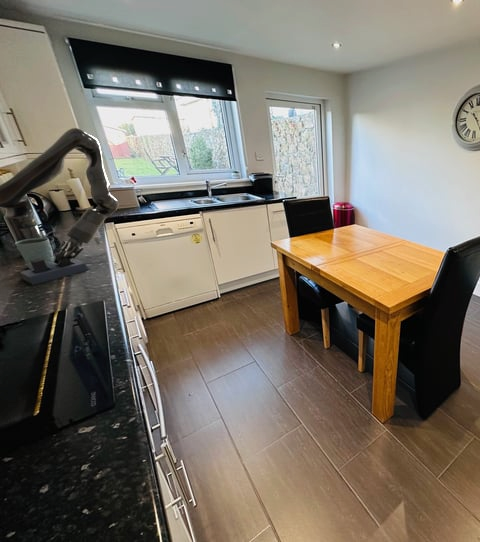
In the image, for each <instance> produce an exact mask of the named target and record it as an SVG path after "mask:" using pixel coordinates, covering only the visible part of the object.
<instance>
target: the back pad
mask: <svg viewBox="0 0 480 542" xmlns="http://www.w3.org/2000/svg"><path fill="white" fill-rule="evenodd" d="M64 255H65V253H60V254H58V253H56V254H54V258H55V259H57V261H58V263H59V262H60V260H61V259H62V258H63V257H64ZM70 260H71V259H70ZM70 260H69V261H68V263H67V264H66V265H65V266H68V265H72V263H71V261H70ZM59 266H60V267H64V266H61V265H59Z"/></svg>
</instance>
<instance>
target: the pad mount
mask: <svg viewBox="0 0 480 542" xmlns="http://www.w3.org/2000/svg"><path fill="white" fill-rule="evenodd" d="M70 261H71V263H72V265H68V266H64V267H60V266H59V264H56V263H55V264H51V265H47V268H48V271H44V272H40V273H36V272H35V270H34V269H30V268H29V269H27V270H21V271H19V274H20V276H21V277H22V278H21V279H23V280H24V281H25V282H27V283H28V284H31V285H32V286H34V285H39V284H42V283H47V282H49V281H54V280H57V279H61V278H64V277H68V276H71V275H76V274H78V273H79V274H80V273H83V272H86V271H88V270H89V268H88V266H87V263H86V262H84V261H82V260H78V259H76V258H74V259H73V258H72V259H70Z"/></svg>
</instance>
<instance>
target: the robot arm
mask: <svg viewBox="0 0 480 542" xmlns="http://www.w3.org/2000/svg"><path fill="white" fill-rule="evenodd" d="M73 150H76V151H79V152H80V153H83V154H84V155H85V157H86V158H87V161H88V165H87V167H86V169H85V176H86V179H87V182H88V184H89V187H90V196H91V199H92V201H93V202H94V204H96V205H97V206H96V207H95V208H87V209H86V211H85V212H83V214H82V215H81V217H80V218H79V219H78V220H77V221H76V222H75V223H74V224H73V226H72V227H71V228H70V229H69V231H68V232H67V234H66V236H67V237H69V239H68V240H62V242H61V244H60V246H59V248H58V249H57V250H56V251H57V252H56V253H57V254H60V253H65V255H64V257H63V258H62V259H61V260H60V262H59V263H58V261H57V259H56V258H54V261H53V262H54V263H56V264H59V265H61V266H65V265H66V264H67V263H68V261H69V260H72V259H76V257H78V255H79V254H80V253H81V252H82V251H83V250H84V248H85V247H82V245H83V244H87V245H88V244H89V243H90V242H91V240H92V239H93V237H94V236H95V235H96V233H97V232H98V230H99V229H100V227H101V226H102V224H103V223H104V222H105V220H106V219H107V218H109V217H110V216H111V215H112V214H114V213H115V212H116V211H117V210H118V208H119V205H120V203H119V201H118V199H117V198H116V197H114V196H113V195H112V194H111V192H110V190H111V184H110V182H109V180H108V177H107V174H106V170H105V167H104V162H103V156H102V150H101V145H100V143H99V140H98V139H97V138H96V137H94V136H93V135H91V134H89V133H87V132H86V131H84V130H82V129H81V128H77V127H72V128H69V129H67V130H66V131H65V132H64V133H63V134H62V135H60V137H58V139H57V140H56V141H55V142H53V144H52V145H51V146H49V147H48V148H47V149H46V150H44V151H43V152H42V153H41V154H39V155H38V156H37V157H35V158H34V159H32V160H31V161H30V162H28V163H27V164H26V165H25V166H24V167H23V168H21V169H20V170H19V171H18V172H17V173H16V174H15V175H13V176H12V177H11V178H10V179H8V180H6V181H4V182H3V183H1V184H0V208H3V209H5V210H6V212H5V215H4V216H3V219H4V221H5V223H6V225H7V228H8V229H9V231H10V234H11V236H12V237H13V239H14V241H15V243H16V242H18V241H21V240H26V239H33V238H48V239H51V241H49V242H50V245H51V244H52V243H54V241H55V239H54V237H53V236H49V235H51V234H58V231H53V230H51V231H49V232H47V233H46V234H45V235H44V237H43V235H42V233H41V230H40V228H39V226H38V224H37V221H36V219H35V216H34V213H35V212H34V209H33V206H32V204H31V201H30V198H29V196H28V195H27V194H29V193H30V192H32V191H33V190H35V189H38V188H40V187H42V186H44V185H45V184H47V183H50V182H51V181H53V180H54V179H56V178H57V177H58V176H59V175H61V174H62V172H63V171H64V167H65V159H66V157H67V155H69V153H70V152H72V151H73ZM16 249H17V251H19V249H18V248H17V247H16Z"/></svg>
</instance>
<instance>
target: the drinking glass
mask: <svg viewBox="0 0 480 542" xmlns="http://www.w3.org/2000/svg"><path fill="white" fill-rule="evenodd" d="M50 242H51V241H50V238H47V237H43V238H33V239H26V240H21V241H18V242H16V241H15V242H14V245H15V246H16V249H17V248H18V249H19V250H18V249H17V250H18V252H19V253H20V255H21V256H22V259H23V260H24V261H25V264H26V265H27V267H28V269H29V270H30V269H34V268H33V266H32V264H31V262H30V260H34V259H39V258H40V259H43V260H44V261H45V263H46V266H47V265H51V264H55V263H54V262H53V261H54V260H55V255H54V253H53V249H52V246H51V244H50Z"/></svg>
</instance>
